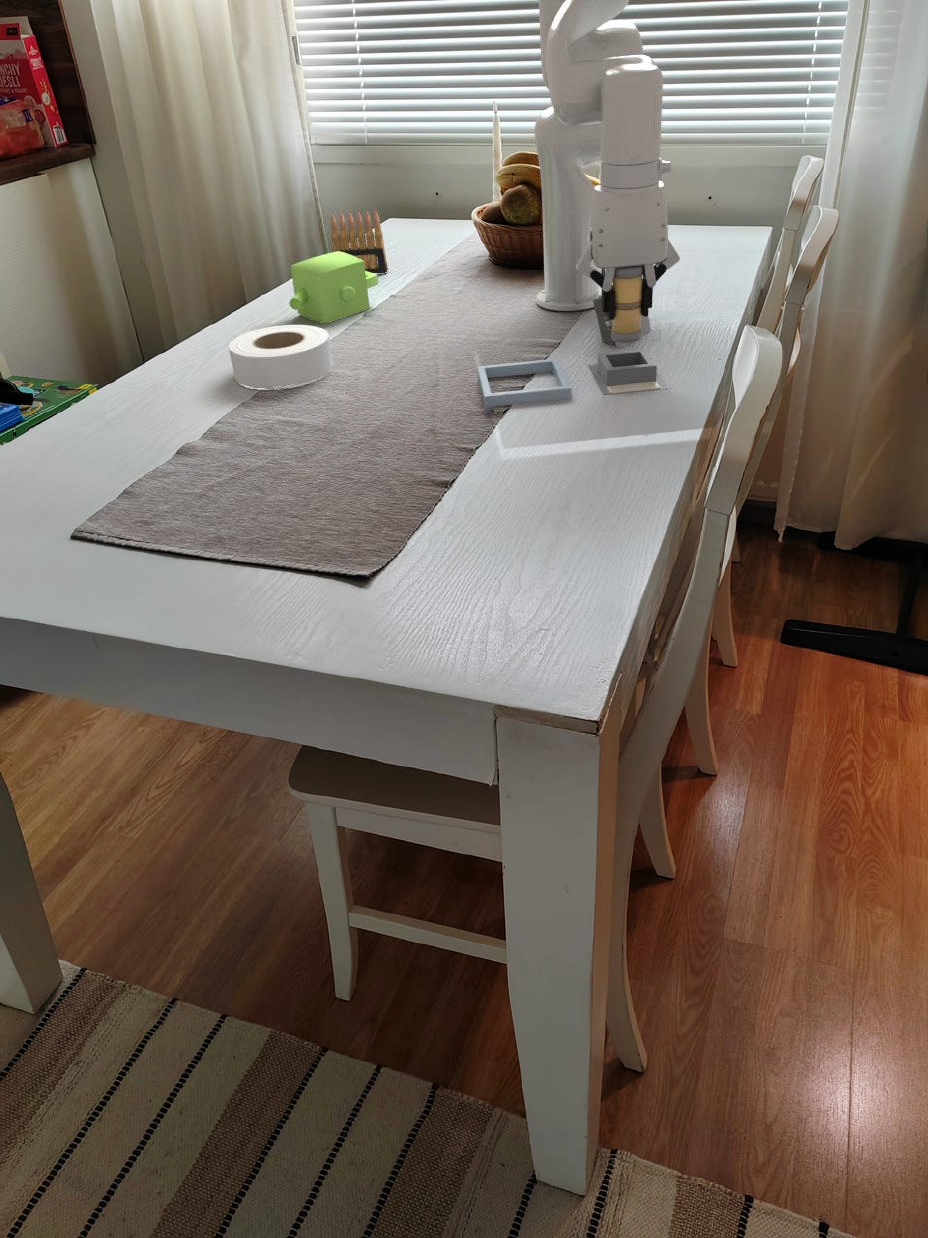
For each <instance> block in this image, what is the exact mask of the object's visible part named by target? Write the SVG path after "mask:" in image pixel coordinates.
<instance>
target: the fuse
mask: <svg viewBox="0 0 928 1238" xmlns="http://www.w3.org/2000/svg"><path fill="white" fill-rule="evenodd" d="M642 278H643V266H633V267H623V268H615V272H614V277H613V282H612V286H613V290H614V291H615V319H613V320H612V329H611V339H612V340H613V341H616V342H620V343H629V344H631V343H634V342H637V341H640V340H641V339H642V336H641V306H642ZM630 342H631V343H630Z"/></svg>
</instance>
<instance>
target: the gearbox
mask: <svg viewBox="0 0 928 1238" xmlns="http://www.w3.org/2000/svg"><path fill="white" fill-rule="evenodd" d="M290 274H291V280H292V286H293V293H294V295H293V297H292V298H291V299H290V300H289V306H290V308H291V309H292V310H295V311H297V314H298V315H299V314H300V315H299V316H301V315H302V316H301V317H303V316H304V317H303V318H305V317H307V318H306V319H308V318H310V319H312V320H311V321H313V320H315V321H314V322H316V321H318V322H317V323H319V322H321V323H320V324H323V323H325V324H328V323H327V322H329V323H331V322H330V321H332V322H335V321H334V320H336V321H338V320H337V319H339V320H342V319H344V317H345V318H347V317H350V316H351V317H352V316H353V315H356V314H358V313H361V312H364V311H367V310H369V309H370V299H369V292H368V290H369V289H371V288H373V287H376V286H378V285H379V278H378V275H376V274H373V273H370V272H367V271H365V265H364V261H363V260H361V259H359V258H357V257H355V256H352V255H350V254H347V253H344V252H340V251H336V252H327V253H325V254H321V255H318V256H314V257H311V258H308V259H304V260H302V261H299V262H295V263H293V264H291V265H290ZM341 318H342V319H341ZM310 319H309V320H310Z"/></svg>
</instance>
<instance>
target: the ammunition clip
mask: <svg viewBox="0 0 928 1238" xmlns="http://www.w3.org/2000/svg"><path fill="white" fill-rule="evenodd" d="M373 216H374V217H373V222H374V223H372V220H371V215H370V213H369V212H368V211H366V212H365V221H364V222H365V226H364V223H363V218H362V216H361V214H360V212H359V211H358V212H357V215H356V226H355V222H354V221H355V220H354V218H353V215H352V213H351V212H349V213H348V216H347V218H348V219H347V221H348V222H347V223H348V225H346V221H345V217H344V215H343V214H342V213H340V214H339V230H338V224H337V221H336V218H335V215H334V214H333V213H331V215H330V227H331V228H330V230H331V243H332V251H333V252H336V251H340V252H344V253H347V254H350V255H352V256H355V257H357V258H359V259H361V260H363V261H364V265H365V271H367V272H370V273H385V272H387V270H388V271H389V268H388V263H387V262H388V261H387V256H386V250H385V244H384V243H385V242H384V233H383V231H382V226H381V221H380V217H379V213H378V211H377V210H375V211H374V215H373ZM373 225H374V226H373ZM347 226H348V229H347ZM355 227H356V228H357V232H356V228H355ZM364 227H365V228H364ZM373 227H374V230H373ZM347 230H348V231H347ZM339 232H340V233H339ZM387 273H388V272H387Z"/></svg>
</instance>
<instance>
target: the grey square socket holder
mask: <svg viewBox="0 0 928 1238" xmlns="http://www.w3.org/2000/svg"><path fill="white" fill-rule="evenodd" d="M587 366H588V368H589V370H590V372H591V375H592V376H593V379H594V380H595V381H596V383H597V386H598V388H599V389H600V391H601V393H602V395H603V396H608V395H609V396H610V395H619V394H627V393H629V394H630V393H640V392H647V391H648V392H650V391H659V390H667V389H668V387H667V385H666V384H665V383H664V381H663V380H662V378H661V377H660V375H659V373H658V372H657V366H658V365H657V364H656V362H655V361H654V360H653V358H652V357H651V355H650V353H649V352H648V351H647V350H646V348H642V349H632V350H630V349H629V350H622V351H612V352H599V353H597V363H596V364H587Z"/></svg>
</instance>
